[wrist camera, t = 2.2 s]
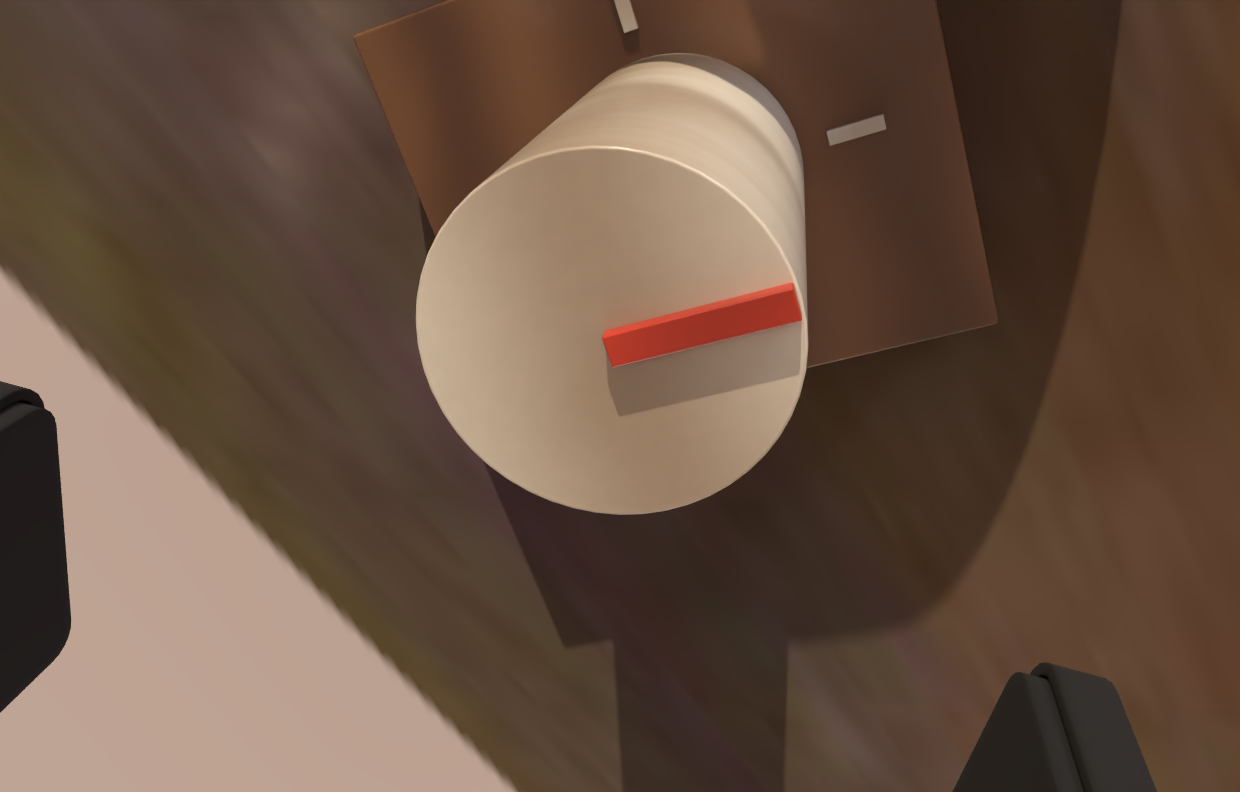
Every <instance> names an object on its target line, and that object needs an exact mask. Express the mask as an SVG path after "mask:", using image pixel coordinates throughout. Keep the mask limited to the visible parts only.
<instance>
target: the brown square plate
mask: <svg viewBox="0 0 1240 792" xmlns="http://www.w3.org/2000/svg"><path fill="white" fill-rule="evenodd" d="M353 38H354V41H355V44H356V46H357V48H358V51H359V53H360V56H361V58H362V61H363V63H364V65H365V68H366V70H367V73H368V75H369V78H370V80H371V82H372V85H373V87H374V90H375V92H376V94H377V97H378V99H379V102H380V104H381V107H382V109H383V111H384V114H385V116H386V119H387V121H388V124H389V126H390V128H391V131H392V133H393V136H394V138H395V140H396V143H397V145H398V148H399V150H400V153H401V155H402V157H403V160H404V162H405V165H406V167H407V170H408V172H409V174H410V177H411V179H412V182H413V184H414V186H415V189H416V191H417V194H418V196H419V199H420V201H421V203H422V206H423V208H424V211H425V213H426V216H427V218H428V220H429V223H430V225H431V228H432V230H433V232H434V235H435V237H436V236H437V234H438V232H439V230H440V229H441V227H442V226H443V225H444V223H445V222H446V220H447V219H448V217H449V216H450V215H451V213H452V212H453V210H454V209H455V208H456V207H457V206H458V205H459V204H460V203H461V202H462V201H463V200H464V199H465V198H466V197H467V196H468V195H469V194H470V192H472V191H473V190H474V189H475V188H476V187H478V186H479V185H480V184H481V183H482V182H483V181H485V180H486V179H487V178H488V177H489V176H490V175H492V174H493V173H494V172H495V171H496V170H498V169H499V168H500V167H501V166H502V165H503V164H505V163H506V162H507V161H508V160H509V159H510V158H512V157H513V156H514V155H515V154H516V153H518V152H519V151H520V150H521V149H522V148H523V147H525V146H526V145H527V144H528V143H529V142H530V141H532V140H533V139H534V138H535V137H536V136H538V135H539V134H540V133H541V132H542V131H543V130H545V129H546V128H547V127H548V126H549V125H550V124H552V123H553V122H554V121H555V120H556V119H558V118H559V117H560V116H561V115H562V114H563V113H565V112H566V111H567V110H568V109H569V108H570V107H572V106H573V105H574V104H575V103H576V102H578V101H579V100H580V99H581V98H582V97H583V96H585V95H586V94H587V93H588V92H589V91H590V90H592V89H593V88H594V87H595V86H596V85H598V84H599V83H600V82H601V81H603V80H604V79H605V78H606V77H608V76H609V75H610V74H612V73H614V72H615V71H617V70H619V69H620V68H622V67H624V66H626V65H628V64H631V63H633V62H635V61H638V60H640V59H644V58H648V57H652V56H655V55H663V54H671V53H686V54H696V55H702V56H708V57H711V58H715V59H718V60H721V61H724V62H726V63H728V64H731V65H733V66H735V67H737V68H739V69H741V70H742V71H744V72H745V73H747V74H749V75H750V76H752V77H753V78H755V79H756V80H757V81H758V82H759V83H760V84H762V85H763V86H764V87H765V88H766V89H767V90H768V91H769V92H770V93H771V94H772V95H773V97H774V98H775V99H776V100H777V101H778V102H779V104H780V105H781V107H782V108H783V110H784V111H785V113H786V114H787V116H788V118H789V120H790V122H791V124H792V126H793V128H794V130H795V133H796V136H797V139H798V142H799V145H800V149H801V154H802V159H803V168H804V195H805V233H806V272H807V310H808V356H807V367H806V368H810V367H814V366H818V365H823V364H827V363H831V362H836V361H840V360H844V359H848V358H853V357H857V356H861V355H866V354H870V353H874V352H878V351H883V350H887V349H891V348H896V347H900V346H904V345H908V344H913V343H917V342H921V341H926V340H930V339H934V338H938V337H943V336H947V335H951V334H956V333H960V332H964V331H968V330H973V329H977V328H981V327H986V326H990V325H994V324H997V323H998V315H997V310H996V305H995V300H994V295H993V290H992V284H991V279H990V274H989V269H988V264H987V259H986V254H985V249H984V243H983V238H982V233H981V228H980V223H979V218H978V213H977V208H976V202H975V197H974V192H973V187H972V182H971V177H970V172H969V166H968V161H967V156H966V151H965V146H964V141H963V136H962V131H961V125H960V120H959V115H958V110H957V105H956V100H955V95H954V90H953V84H952V79H951V74H950V69H949V64H948V59H947V54H946V49H945V43H944V38H943V33H942V28H941V23H940V18H939V13H938V7H937V2H936V0H447V1H444V2H441V3H439V4H436V5H433V6H431V7H428V8H425V9H423V10H420V11H417V12H415V13H412V14H409V15H407V16H404V17H401V18H399V19H396V20H393V21H391V22H388V23H385V24H383V25H380V26H377V27H375V28H372V29H369V30H367V31H364V32H361V33H359V34H356V35H355V36H354V37H353Z"/></svg>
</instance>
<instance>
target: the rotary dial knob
mask: <svg viewBox="0 0 1240 792" xmlns="http://www.w3.org/2000/svg"><path fill="white" fill-rule="evenodd" d="M416 329H417V340H418V347H419V352H420V356H421V360H422V365H423V369H424V372H425V374H426V377H427V380H428V382H429V385H430V388H431V391H432V393H433V395H434V396H435V398H436V400H437V402H438V404H439V406H440V408H441V410H442V412H443V413H444V415H445V416H446V418H447V419H448V421H449V422H450V424H451V425H452V427H453V428H454V430H455V431H456V432H457V433H458V435H459V436H460V437H461V438H462V439H463V440H464V441H465V443H466V444H467V445H468V446H469V447H470V448H471V449H472V450H473V451H474V452H475V453H476V454H477V455H478V456H479V457H480V458H481V459H482V460H483V461H484V462H486V463H487V464H488V465H489V466H490V467H492V468H493V469H494V470H496V471H497V472H498V473H500V474H501V475H502V476H504V477H505V478H507V479H508V480H510V481H511V482H513V483H515V484H517V485H518V486H520V487H522V488H524V489H525V490H527V491H529V492H531V493H533V494H536V495H538V496H540V497H542V498H545V499H547V500H549V501H552V502H555V503H558V504H562V505H565V506H568V507H571V508H575V509H580V510H585V511H590V512H595V513H606V514H618V515H624V514H646V513H653V512H660V511H666V510H670V509H674V508H678V507H682V506H685V505H689V504H691V503H694V502H696V501H699V500H701V499H704V498H706V497H709V496H711V495H713V494H714V493H716V492H718V491H720V490H722V489H723V488H725V487H727V486H729V485H730V484H732V483H733V482H734V481H736V480H737V479H739V478H740V477H741V476H743V475H744V474H745V473H747V472H748V471H749V470H750V469H751V468H752V467H753V466H754V465H755V464H757V463H758V462H759V461H760V460H761V459H762V458H763V457H764V456H765V455H766V454H767V452H768V451H769V450H770V448H771V447H772V446H773V445H774V443H775V442H776V441H777V439H778V438H779V437H780V435H781V434H782V432H783V430H784V428H785V427H786V425H787V423H788V422H789V420H790V418H791V416H792V414H793V412H794V409H795V407H796V404H797V402H798V399H799V397H800V394H801V390H802V386H803V382H804V377H805V373H806V367H807V356H808V310H807V272H806V233H805V195H804V168H803V159H802V154H801V149H800V145H799V142H798V139H797V136H796V133H795V130H794V128H793V126H792V124H791V122H790V120H789V118H788V116H787V114H786V113H785V111H784V110H783V108H782V107H781V105H780V104H779V102H778V101H777V100H776V99H775V98H774V97H773V95H772V94H771V93H770V92H769V91H768V90H767V89H766V88H765V87H764V86H763V85H762V84H760V83H759V82H758V81H757V80H756V79H755V78H753V77H752V76H750V75H749V74H747V73H745V72H744V71H742V70H741V69H739V68H737V67H735V66H733V65H731V64H728V63H726V62H724V61H721V60H718V59H715V58H711V57H708V56H702V55H696V54H686V53H671V54H663V55H655V56H652V57H648V58H644V59H640V60H638V61H635V62H633V63H631V64H628V65H626V66H624V67H622V68H620V69H619V70H617V71H615V72H614V73H612V74H610V75H609V76H608V77H606V78H605V79H604V80H603V81H601V82H600V83H599V84H598V85H596V86H595V87H594V88H593V89H592V90H590V91H589V92H588V93H587V94H586V95H585V96H583V97H582V98H581V99H580V100H579V101H578V102H576V103H575V104H574V105H573V106H572V107H570V108H569V109H568V110H567V111H566V112H565V113H563V114H562V115H561V116H560V117H559V118H558V119H556V120H555V121H554V122H553V123H552V124H550V125H549V126H548V127H547V128H546V129H545V130H543V131H542V132H541V133H540V134H539V135H538V136H536V137H535V138H534V139H533V140H532V141H530V142H529V143H528V144H527V145H526V146H525V147H523V148H522V149H521V150H520V151H519V152H518V153H516V154H515V155H514V156H513V157H512V158H510V159H509V160H508V161H507V162H506V163H505V164H503V165H502V166H501V167H500V168H499V169H498V170H496V171H495V172H494V173H493V174H492V175H490V176H489V177H488V178H487V179H486V180H485V181H483V182H482V183H481V184H480V185H479V186H478V187H476V188H475V189H474V190H473V191H472V192H470V194H469V195H468V196H467V197H466V198H465V199H464V200H463V201H462V202H461V203H460V204H459V205H458V206H457V207H456V208H455V209H454V210H453V212H452V213H451V215H450V216H449V217H448V219H447V220H446V222H445V223H444V225H443V226H442V227H441V229H440V230H439V232H438V234H437V236H436V238H435V240H434V242H433V244H432V246H431V248H430V250H429V252H428V255H427V258H426V261H425V264H424V267H423V270H422V273H421V277H420V282H419V288H418V293H417V302H416Z"/></svg>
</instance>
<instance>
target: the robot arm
mask: <svg viewBox="0 0 1240 792" xmlns="http://www.w3.org/2000/svg"><path fill="white" fill-rule="evenodd" d="M61 495H62V494H61V482H60V468H59V455H58V442H57V428H56V422H55V418H54V416H53V415H52V413H51V412H50V411H48V410H46V409H45V408H44V404H43V401H42V399H41V398H40V396H39V395H38V394H37V393H36V392H34V391H32V390H30V389H27V388H23V387H19V386H16V385H12V384H8V383H4V382H1V381H0V712H1V711H2V710H4V708H6V706H7V705H8V704H10V702H12V701H13V700H14V699H15V698H16V697H17V696H18V695H19V694H20V693H21V692H22V691H23V690H24V689H25V688H26V687H27V686H28V685H29V684H30V683H31V682H32V681H33V680H34V679H35V678H36V677H37V676H38V675H39V674H40V673H41V672H42V671H44V670H45V668H47V667H48V666H49V665H50V664H51V663H52V662H53V661H54V660H55V658H56V657H57V656H58V655H59V653H60V652H61V650H62V649H63V647H64V645H65V643H66V641H67V639H68V636H69V632H70V629H71V612H70V599H69V586H68V574H67V561H66V560H67V559H66V546H65V533H64V520H63V508H62V496H61ZM953 792H1157V791H1156V788H1155V786H1154V783H1153V781H1152V778H1151V776H1150V773H1149V770H1148V768H1147V765H1146V763H1145V760H1144V758H1143V755H1142V753H1141V750H1140V748H1139V745H1138V743H1137V740H1136V738H1135V735H1134V733H1133V730H1132V728H1131V725H1130V723H1129V720H1128V718H1127V715H1126V713H1125V710H1124V708H1123V705H1122V703H1121V700H1120V698H1119V695H1118V693H1117V690H1116V689H1115V687H1114V685H1113V684H1112V682H1110V681H1109V680H1107V679H1106V678H1102V677H1099V676H1095V675H1091V674H1087V673H1084V672H1080V671H1076V670H1072V669H1069V668H1065V667H1061V666H1058V665H1054V664H1050V663H1040V664H1039V665H1038V666H1036V667H1035V668H1034V669H1033V671H1032V672H1031V674H1030V675H1029V674H1025V673H1022V672H1017V673H1015V674H1014V675H1012V676H1011V678H1010V679H1009V681H1008V682H1007V684H1006V686H1005V688H1004V690H1003V692H1002V694H1001V696H1000V698H999V700H998V702H997V704H996V706H995V708H994V710H993V712H992V714H991V716H990V718H989V720H988V722H987V724H986V726H985V728H984V730H983V732H982V734H981V736H980V738H979V740H978V742H977V744H976V746H975V748H974V750H973V752H972V754H971V756H970V758H969V760H968V762H967V764H966V766H965V768H964V770H963V772H962V774H961V776H960V778H959V780H958V782H957V784H956V786H955V788H954V790H953Z"/></svg>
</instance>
